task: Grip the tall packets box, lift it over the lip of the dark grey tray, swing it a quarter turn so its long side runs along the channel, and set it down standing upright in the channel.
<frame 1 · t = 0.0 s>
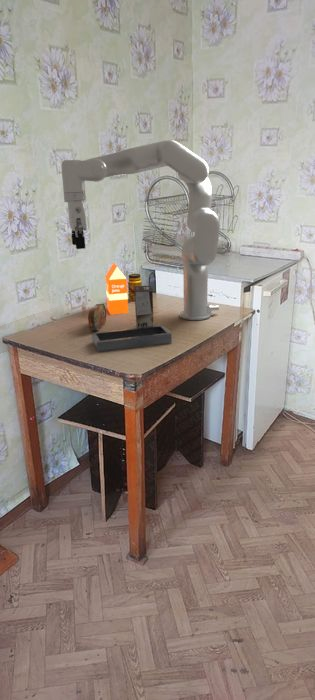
hand: (78, 246, 187), 31 cm above the table, tool pointing down, fingers open, 9 cm apart
tin: (98, 327, 200), on the table
dark grey tray: (131, 342, 182), on the table
orange juice: (117, 311, 220), on the table
coffee box: (144, 330, 195), on the table
condiment: (134, 300, 235), on the table
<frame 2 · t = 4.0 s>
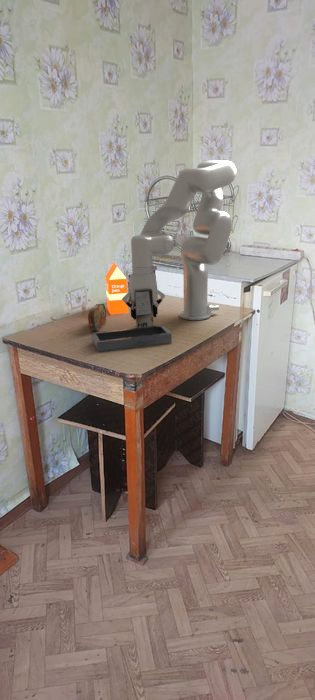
hand: (144, 317, 193), 5 cm above the table, tool pointing down, fingers closed on coffee box, 7 cm apart
coffee box: (144, 330, 195), on the table, touching gripper
everything else where it was.
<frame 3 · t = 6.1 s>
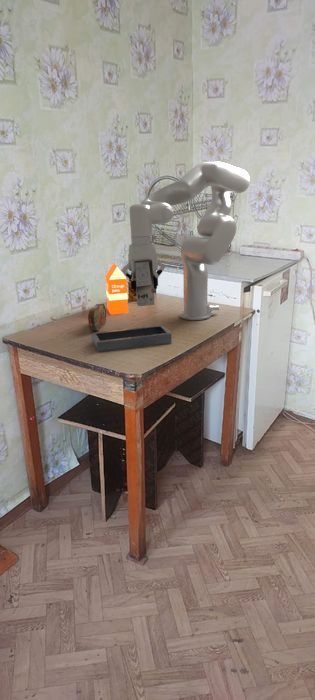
hand: (144, 288, 190), 16 cm above the table, tool pointing down, fingers closed on coffee box, 7 cm apart
coffee box: (145, 302, 192), point 10 cm above the table, touching gripper
everything else where it was.
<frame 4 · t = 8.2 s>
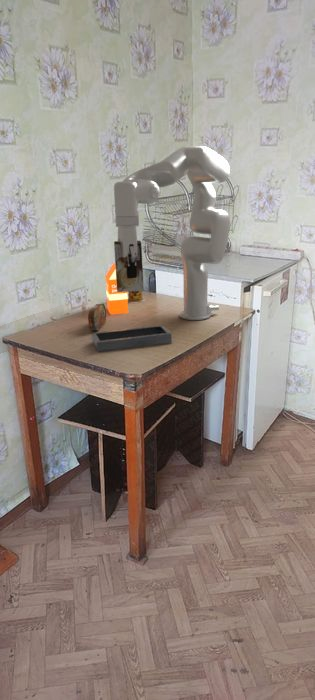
hand: (129, 275, 174), 24 cm above the table, tool pointing down, fingers closed on coffee box, 7 cm apart
coffee box: (130, 290, 176), point 19 cm above the table, touching gripper
everything else where it was.
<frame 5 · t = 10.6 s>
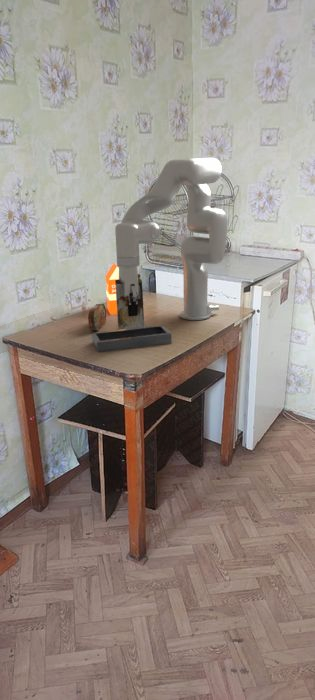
hand: (130, 312, 178), 11 cm above the table, tool pointing down, fingers closed on coffee box, 7 cm apart
coffee box: (130, 326, 180), point 6 cm above the table, touching gripper
everything else where it was.
when the fingers open (7 cm above the table, at t = 12.4 s): coffee box drops 1 cm, resting on dark grey tray.
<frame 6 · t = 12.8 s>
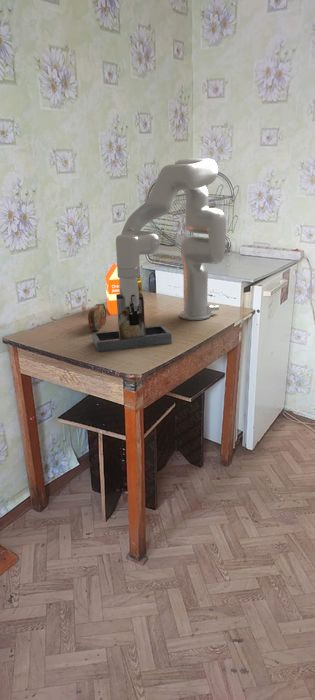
hand: (130, 321, 179), 8 cm above the table, tool pointing down, fingers open, 9 cm apart
coffee box: (132, 340, 182), point 1 cm above the table, touching dark grey tray
everything else where it was.
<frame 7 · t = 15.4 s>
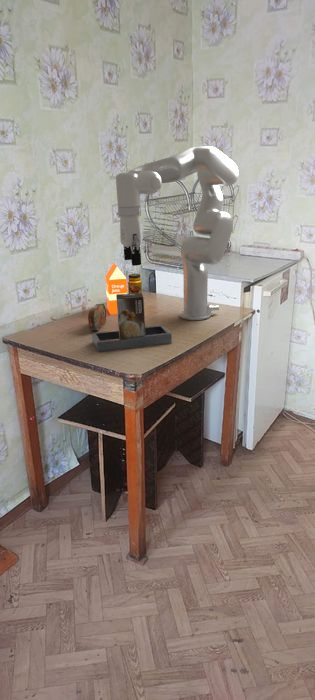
hand: (132, 262, 180), 27 cm above the table, tool pointing down, fingers open, 9 cm apart
nothing on the table moved.
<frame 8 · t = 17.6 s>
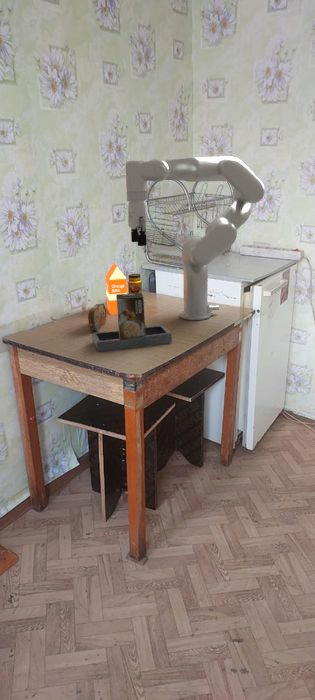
hand: (138, 243, 196), 30 cm above the table, tool pointing down, fingers open, 9 cm apart
nothing on the table moved.
at the end: coffee box inside the target area on the dark grey tray (0.2 cm from its centre), point 0.8 cm above the dark grey tray's base; coffee box tilted 0°; the gripper is holding nothing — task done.
